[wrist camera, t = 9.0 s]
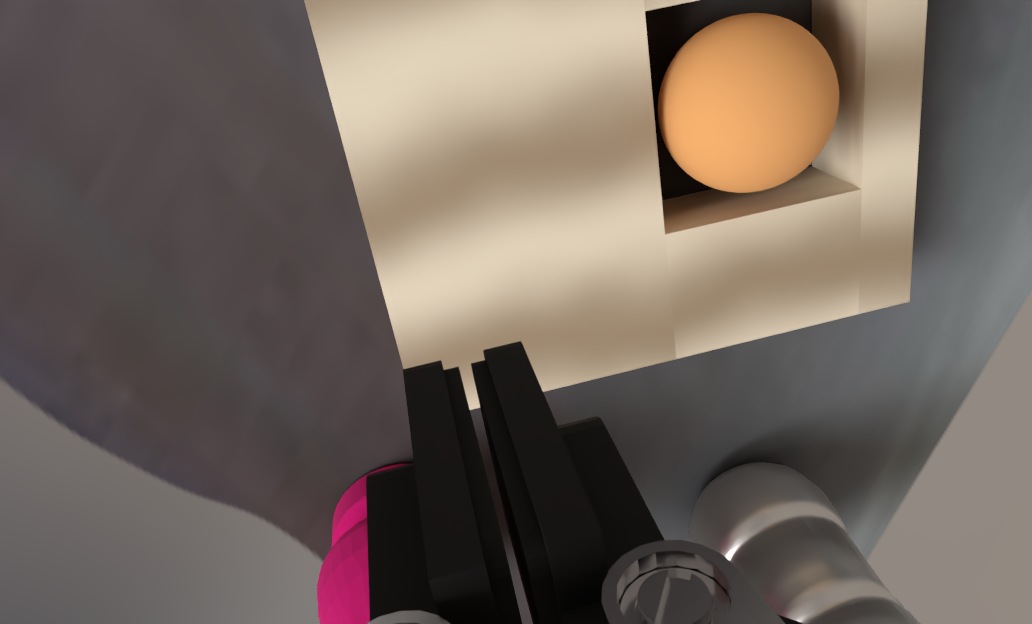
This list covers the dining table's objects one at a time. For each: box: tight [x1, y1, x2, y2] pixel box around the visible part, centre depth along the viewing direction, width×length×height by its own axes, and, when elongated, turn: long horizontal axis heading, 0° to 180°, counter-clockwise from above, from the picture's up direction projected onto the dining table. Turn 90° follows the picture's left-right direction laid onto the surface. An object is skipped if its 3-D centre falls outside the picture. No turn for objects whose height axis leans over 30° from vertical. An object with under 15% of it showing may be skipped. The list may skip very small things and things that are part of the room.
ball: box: [658, 13, 839, 193], centre depth 27 cm, size 6×6×6 cm
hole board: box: [304, 0, 928, 410], centre depth 28 cm, size 18×20×4 cm
